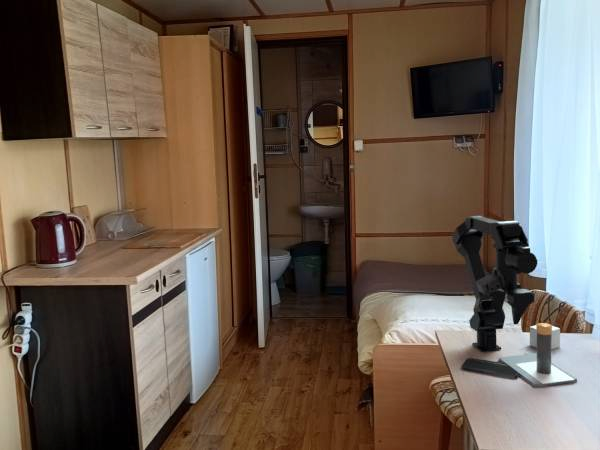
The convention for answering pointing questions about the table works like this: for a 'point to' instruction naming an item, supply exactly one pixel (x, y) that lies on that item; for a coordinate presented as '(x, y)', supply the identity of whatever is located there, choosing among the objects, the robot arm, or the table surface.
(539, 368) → the grey cylinder
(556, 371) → the writing board
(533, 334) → the white cube
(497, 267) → the robot arm
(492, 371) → the phone
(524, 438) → the table surface
